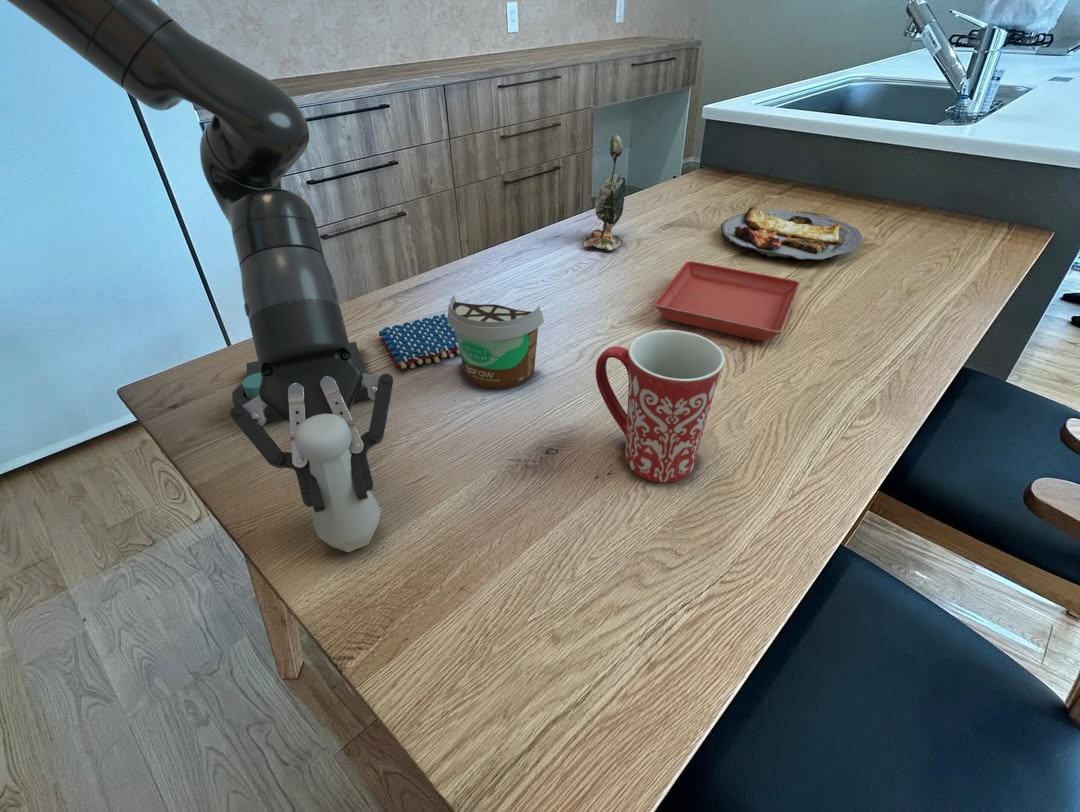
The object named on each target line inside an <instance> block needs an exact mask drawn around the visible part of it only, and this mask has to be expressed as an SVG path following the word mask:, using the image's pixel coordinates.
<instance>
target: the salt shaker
mask: <svg viewBox="0 0 1080 812" xmlns="http://www.w3.org/2000/svg"><path fill="white" fill-rule="evenodd" d="M294 439H295V444H296V447H297V449H298V452H299V454H300V455H301V456H302V457H303V458H305V459H307V460H308V461H309V464H310V473H311V474H312V475H313V476H314V477H315V478H316V481H317V484H318V488H319V492H320V495H321V498H322V502H323V505H324V508H325V510H324V511H321V512H315V511H314V508H313V506H312V507H311V508H312V523H313V527H314V531H315V533H316V535H317V537H318V538H319V539H321V541H323V542H325V543H326V544H327V545H328V546H329V547H332V548H334V549H336V550H337V549H338V550H340V551H343V552H346V553H351V552H353V551H356V550H358V549H361V548H363V547H365V546H368V545H370V542H371V540H372V538H373V536H374V534H375V532H376V530H377V528H378V525H379V522H380V518H381V513H382V511H381V508H380V506H379V504H378V501H377V500H376V498H375V496H374V494H373V493H372V490H371V491H367V495H368V499H364V500H359V496H358V492H357V488H356V484H355V480H354V476H353V472H352V468H351V456H352V455H351V453H350V450H349V447H350V443H351V440H352V435H351V431H350V429H349V427H348V425H347V423H346V421H345V419H343V418H341V417H339V416H337V415H334V414H320V415H315V416H312V417H310V418H308V419H306V420H305V421H304V422H302V423H301V424H300V425H299V426H298V427H297V429H296V432H295V434H294Z"/></svg>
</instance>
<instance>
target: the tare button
mask: <svg viewBox="0 0 1080 812" xmlns="http://www.w3.org/2000/svg"><path fill="white" fill-rule="evenodd" d="M261 378H262V376H261V373H256V374H252V375H250V376H248V377H247V376H246V377H244V379H243V380H242V382H241V384H242V386H243V388H244V391H245V393H246V396H247V398H249V399H253V398H255V397H256V396H258V395H259V387H260V384H261Z"/></svg>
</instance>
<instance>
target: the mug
mask: <svg viewBox="0 0 1080 812" xmlns="http://www.w3.org/2000/svg"><path fill="white" fill-rule="evenodd" d="M628 345H629V346H628V348H626V347H622V346H617V345H614V346H610V347H608V348H606V349H605V350H604V351H603V352H602V353H601V354H600V355H599V357H598V358H597V361H596V363H595V379H596V384H597V385H596V386H597V387H598V390H599V393H600V395H601V397H602V400H603V402H604V404H605V406H606V408H607V409H608V411H609V413H610V415H611V416H612V418H613V419H614V421H615V422H616V424H617V425H618V427H619V429H620V430H621V431H622V432H623V434H624V436H625V449H624V450H625V452H624V453H625V454H624V455H625V456H624V457H625V461H626V464H627V465H628V468H630V470H631V471H632V472H633V473H635V474H636V475H638V476H639V477H641V478H643V479H645V480H647V481H651V482H655V483H675V482H678V481H680V480H683V479H684V478H686V477H687V476H689V475H690V474H691V472H692V471H693V470H694V466H695V463H696V459H697V456H698V453H699V448H700V445H701V441H702V439H703V435H704V431H705V428H706V424H707V420H708V417H709V412H710V410H711V406H712V403H713V398H714V395H715V393H716V392H715V391H716V389H717V384H718V380H719V377H720V374H721V372H722V370H723V369H724V367H725V364H726V356H725V353H724V352H723V350H722V349H721V348H720V346H719V345H718V344H717V343H715V342H713V341H712V340H710V339H709V338H707V337H705V336H702V335H699V334H697V333H694V332H689V331H685V330H679V329H659V330H653V331H648V332H645V333H642V334H640V335H638V336H637V337H635V338H634V339H633V340H631V342H630V344H628ZM609 358H613V359H615V360H618V361H620V363H621V364H623V366H624V368H625V369H626V372H627V376H628V377H627V379H628V387H627V388H628V389H627V390H628V391H627V392H628V393H627V410H626V411H627V412H626V411H625V409H624V408H623V407H622V405H621V403H620V400H618V398H617V396H616V393H615V392H614V390H613V388H612V386H611V382H610V380H609V378H608V373H607V362H608V360H609Z"/></svg>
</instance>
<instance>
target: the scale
mask: <svg viewBox="0 0 1080 812" xmlns="http://www.w3.org/2000/svg"><path fill="white" fill-rule="evenodd" d="M349 345H350V349H351V352H352V356H353V359H354V361H355V363H356V364H357V365H358V366H359V367H360V368H361V370H362V372H363V373H366V371H365V368H364V365H363V361H362V357H361V354H360V350H359V347H358V344H357V342H356V341H351V342H349ZM256 373H261V371H260V366H259V362H258V360H256V361H251V362H246V377H248V376H250V375H252V374H256ZM367 391H368V390H367V388H366V387H365V386H363V385H361V388H360V390H359V392H358V394H357V396H356V399H355V401H354V403H353V405H354V404H358V403H362V402H366V401H371V400H372V399H370V398H369V397H368V392H367ZM250 400H252V399H249V398H247V396H246V393H245V391H244V388H243V386H242V383H240V384H239V385H238V386H237V387H236V388H235V389H234V390H233V391H232V395H231V401H232V403H233V405H234V406H243V405H244V404H246V403H247V402H249V401H250ZM234 406H233V407H234ZM264 414H265V416H266V422H265V424H271V423H275V422H280V421H284V420H285V419H284V418H283V417H282V416H280V415H279V414H278V413H276V412H275V411H274V410H273V409H271V408H270V407H269V406H268V405H267V406H266V407H265V409H264ZM265 424H264V425H265Z"/></svg>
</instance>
